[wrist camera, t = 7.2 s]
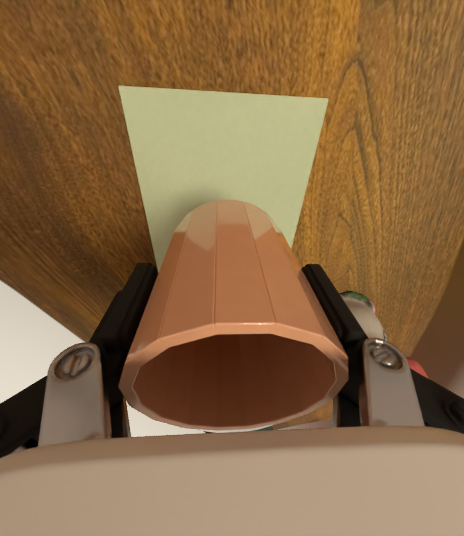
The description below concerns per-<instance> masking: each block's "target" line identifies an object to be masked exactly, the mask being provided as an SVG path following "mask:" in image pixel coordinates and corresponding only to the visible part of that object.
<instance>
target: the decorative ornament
mask: <svg viewBox="0 0 464 536" xmlns="http://www.w3.org/2000/svg"><path fill="white" fill-rule="evenodd" d="M340 296H341V297H342V299H343V300H344V302H345V303H346V305H347V306H348V308H349V309H350V311H351V312H352V314H353V315H354V317H355V318H356V320H357V321H358V323H359V324H360V326H361V327H362V329H363V330H364V332H365V333H366V335H367V336H368V338H380V339H383V340H386V341H388V340H387V337H386V334H385V332H384V330H383V328H382V326H381V324H380V322H379V320H378V318H377V317H376V316H375V315H374V314H375V307H374V304H373V303H372V301H370V300H369V299H368V298H366V297H365V296H363V295H362V294H358V293H355V292H347V293H342V294H340ZM406 359H407V361H408V364H409V368H411V369H412V370H414V371H416V372H418V373H419V374H421V375H423V376H425V377H426V378H428V377H427V375H426V373H425V372H424V370H423V368H422V367H421V366H420V365H419V364H418V363H417V362H416V361H414V360H412V359H411V358H409V357H406ZM428 379H429V378H428Z"/></svg>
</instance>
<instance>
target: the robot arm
mask: <svg viewBox="0 0 464 536" xmlns="http://www.w3.org/2000/svg"><path fill="white" fill-rule="evenodd" d="M302 271H303V273H304V275H305V277H306V279H307V280H308V282H309V284H310V286H311V288H312V290H313V292H314V294H315V296H316V297H317V299H318V301H319V303H320V305H321V307H322V309H323V311H324V313H325V314H326V316H327V318H328V320H329V322H330V324H331V326H332V328H333V330H334V332H335V333H336V335H337V337H338V339H339V341H340V343H341V345H342V347H343V349H344V350H345V352H346V354H347V356H348V370H349V379H348V381H347V383H346V384H345V385H344V386H343V388H342V389H341V390H340V391H339V393H338V394H337V395H336V396H335V398H333V420H332V428H316V429H315V428H314V429H291V430H269V431H247V432H225V433H204V434H185V435H166V436H145V437H131V434H130V426H129V419H128V412H127V405H126V399H125V397H124V396H123V394H122V393H121V391H120V389H119V388H118V384H119V380H120V377H121V374H122V370H123V367H124V364H125V361H126V358H127V356H128V353H129V350H130V348H131V345H132V342H133V340H134V337H135V334H136V332H137V329H138V326H139V324H140V321H141V318H142V316H143V313H144V311H145V308H146V305H147V303H148V300H149V297H150V295H151V292H152V289H153V287H154V284H155V281H156V279H157V276H158V273H157V268H156V266H152V264H151V263H138V264H137V265H136V267H135V269H134V271H133V272H132V274H131V276H130V278H129V280H128V282H127V283H126V285H125V287H124V289H123V291H119V292H117V294H116V295H115V297H114V299H113V301H112V302H111V304H110V306H109V308H108V309H107V311H106V313H105V315H104V316H103V318H102V320H101V322H100V323H99V325H98V327H97V329H96V330H95V332H94V334H93V336H92V338H91V339H90V341H89V342H86V343H79V344H75V345H73V346H71V347H69V348H67V349H66V350H64V351H63V352H61V353H60V354H59V355H58V356H57V357H56V358H55V359H54V360H53V362H52V363H51V365H50V367H49V370H48V375H47V376H45V377H44V378H42V379H40V380H39V381H37V382H36V383H34V384H32V385H30V386H29V387H27V388H26V389H24V390H22V391H21V392H19V393H18V394H16V395H14V396H13V397H11V398H9V399H7V400H6V401H4V402H2V403H1V404H0V536H464V399H463V398H461V397H460V396H458V395H456V394H454V393H453V392H451V391H449V390H447V389H446V388H444V387H442V386H440V385H438V384H437V383H435V382H433V381H432V380H430V379H428V378H426V377H425V376H423V375H421V374H419V373H418V372H416V371H414V370H412V369H411V368H409V364H408V361H407V359H406V357H405V355H404V354H403V353H402V352H401V351H400V350H399V349H398V348H397V347H396V346H395V345H393V344H391V343H390V342H388V341H386V340H383V339H380V338H368V336H367V335H366V333H365V332H364V330H363V329H362V327H361V326H360V324H359V323H358V321H357V320H356V318H355V317H354V315H353V314H352V312H351V311H350V309H349V308H348V306H347V305H346V303H345V302H344V300H343V299H342V297H341V296H340V294H339V293H338V292H337V290H336V288H335V287H334V285H333V284H332V282H331V281H330V279H329V278H328V276H327V275H326V273H325V272H324V270H323V269H322V267H321V266H320V265H319V264H307V265H306V266H305V267H302Z"/></svg>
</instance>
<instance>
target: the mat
mask: <svg viewBox="0 0 464 536" xmlns="http://www.w3.org/2000/svg"><path fill="white" fill-rule="evenodd" d="M118 87H119V92H120V97H121V101H122V106H123V111H124V115H125V120H126V124H127V129H128V134H129V138H130V143H131V148H132V152H133V157H134V162H135V166H136V171H137V176H138V180H139V185H140V190H141V194H142V199H143V204H144V208H145V213H146V218H147V222H148V227H149V232H150V236H151V241H152V246H153V250H154V255H155V260H156V264H157V269H158V273H159V271H160V268H161V265H162V263H163V260H164V257H165V255H166V252H167V249H168V247H169V244H170V241H171V239H172V236H173V234H174V231H175V229H176V228H177V226H178V225H179V223H180V222H181V221H182V219H183V218H184V217H185V216H186V215H187V214H188V213H190V212H191V211H192V210H194V209H196V208H197V207H199V206H201V205H203V204H206V203H209V202H212V201H218V200H239V201H243V202H247V203H250V204H253V205H255V206H257V207H259V208H260V209H262V210H263V211H265V212H266V213H267V214H268V215H269V216H270V217H271V218H272V219H273V220H274V221H275V223H276V224H277V226H278V228H279V229H280V230H281V231H282V233H283V235H284V237H285V239H286V241H287V243H288V244H289V246H290V248H291V247H292V243H293V239H294V235H295V231H296V227H297V223H298V219H299V215H300V211H301V207H302V203H303V199H304V195H305V191H306V187H307V183H308V179H309V175H310V172H311V168H312V164H313V160H314V156H315V152H316V148H317V144H318V140H319V136H320V132H321V128H322V124H323V120H324V116H325V112H326V108H327V104H328V100H329V99H326V98H310V97H294V96H278V95H262V94H246V93H229V92H213V91H197V90H181V89H165V88H149V87H132V86H118Z"/></svg>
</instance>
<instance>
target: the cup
mask: <svg viewBox="0 0 464 536" xmlns="http://www.w3.org/2000/svg"><path fill="white" fill-rule="evenodd" d="M348 379H349V370H348V356H347V354H346V352H345V350H344V349H343V347H342V345H341V343H340V341H339V339H338V337H337V335H336V333H335V332H334V330H333V328H332V326H331V324H330V322H329V320H328V318H327V316H326V314H325V313H324V311H323V309H322V307H321V305H320V303H319V301H318V299H317V297H316V296H315V294H314V292H313V290H312V288H311V286H310V284H309V282H308V280H307V279H306V277H305V275H304V273H303V271H302V269H301V267H300V265H299V263H298V261H297V260H296V258H295V256H294V254H293V252H292V250H291V248H290V246H289V244H288V243H287V241H286V239H285V237H284V235H283V233H282V231H281V230H280V229H279V228H278V226H277V224H276V223H275V221H274V220H273V219H272V218H271V217H270V216H269V215H268V214H267V213H266V212H265V211H263V210H262V209H260V208H259V207H257V206H255V205H253V204H250V203H247V202H243V201H239V200H218V201H212V202H209V203H206V204H203V205H201V206H199V207H197V208H196V209H194V210H192V211H191V212H190V213H188V214H187V215H186V216H185V217H184V218H183V219H182V221H181V222H180V223H179V225H178V226H177V228H176V229H175V231H174V234H173V236H172V239H171V241H170V244H169V247H168V249H167V252H166V255H165V257H164V260H163V263H162V265H161V268H160V271H159V273H158V276H157V279H156V281H155V284H154V287H153V289H152V292H151V295H150V297H149V300H148V303H147V305H146V308H145V311H144V313H143V316H142V318H141V321H140V324H139V326H138V329H137V332H136V334H135V337H134V340H133V342H132V345H131V348H130V350H129V353H128V356H127V358H126V361H125V364H124V367H123V370H122V374H121V377H120V380H119V384H118V388H119V389H120V391H121V393H122V394H123V396H124V397H125V399H126V401H127V402H128V404H129V405H130V406H131V407H132V408H134V409H136V410H137V411H139V412H141V413H143V414H145V415H146V416H148V417H150V418H151V419H154V420H156V421H160V422H164V423H167V424H171V425H175V426H179V427H184V428H191V429H202V430H213V431H215V430H216V431H219V430H241V429H252V428H257V427H263V426H268V425H274V424H279V423H282V422H285V421H288V420H291V419H294V418H297V417H300V416H303V415H306V414H308V413H310V412H312V411H314V410H316V409H317V408H319V407H321V406H322V405H324V404H326V403H327V402H329V401H331V400H332V399H333V398H335V396H336V395H337V394H338V393H339V391H340V390H341V389H342V388H343V386H344V385H345V384H346V383H347V381H348Z"/></svg>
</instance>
